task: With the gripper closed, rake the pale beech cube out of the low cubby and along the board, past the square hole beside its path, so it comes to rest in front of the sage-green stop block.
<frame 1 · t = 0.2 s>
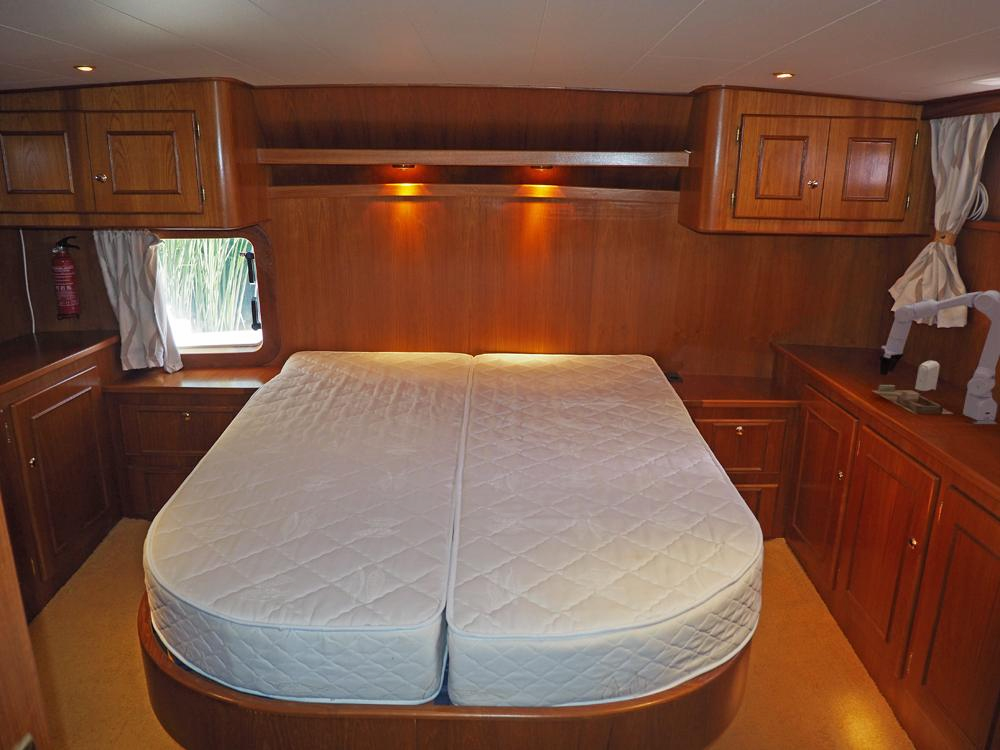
hand: (886, 372, 263), 11 cm above the table, fingers open, 7 cm apart
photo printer: (924, 392, 277), on the table
cube: (908, 402, 258), point 1 cm above the table, touching board
board: (908, 404, 261), on the table
cubby: (915, 410, 254), resting on board
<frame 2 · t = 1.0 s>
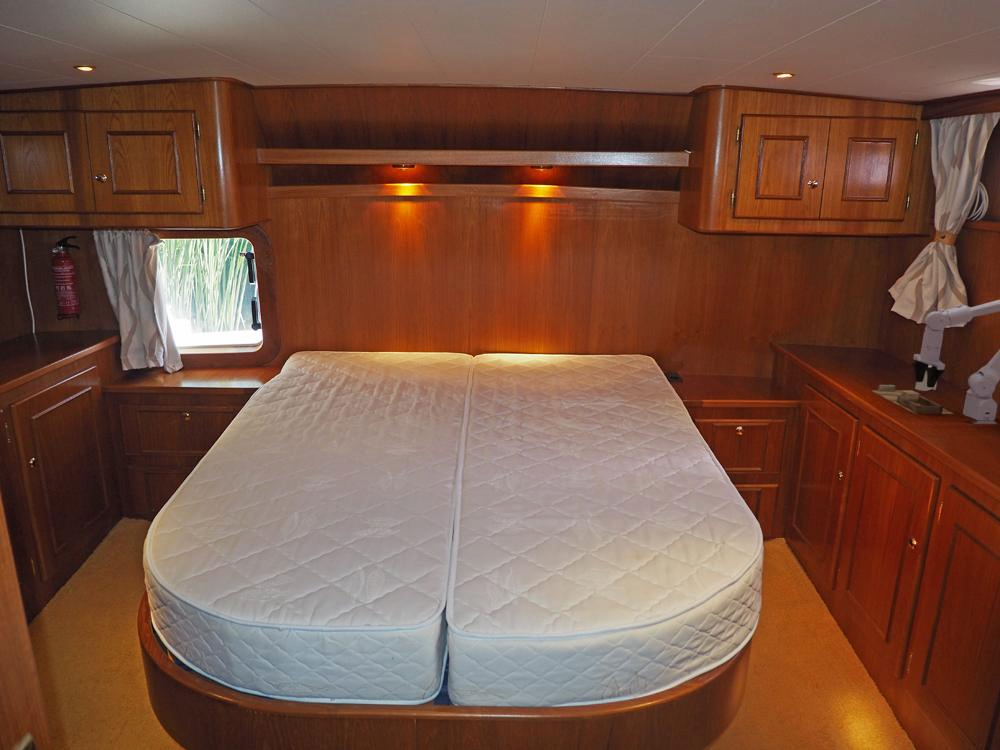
hand: (924, 384, 249), 10 cm above the table, fingers open, 6 cm apart
nothing on the table moved.
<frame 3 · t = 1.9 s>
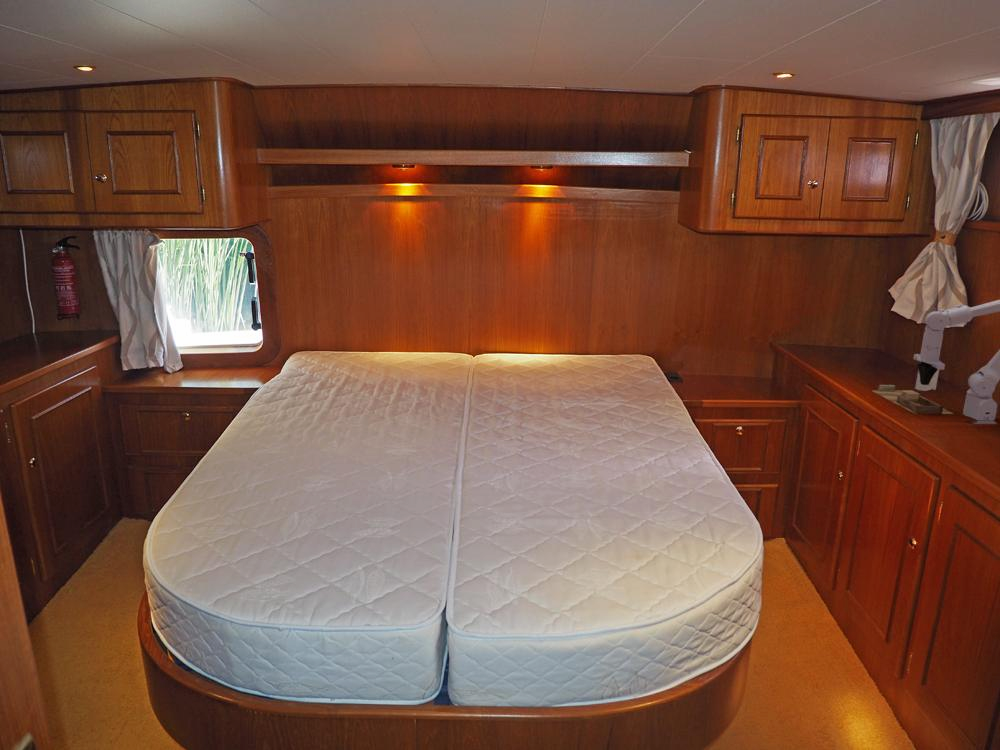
hand: (924, 384, 249), 10 cm above the table, fingers closed
nothing on the table moved.
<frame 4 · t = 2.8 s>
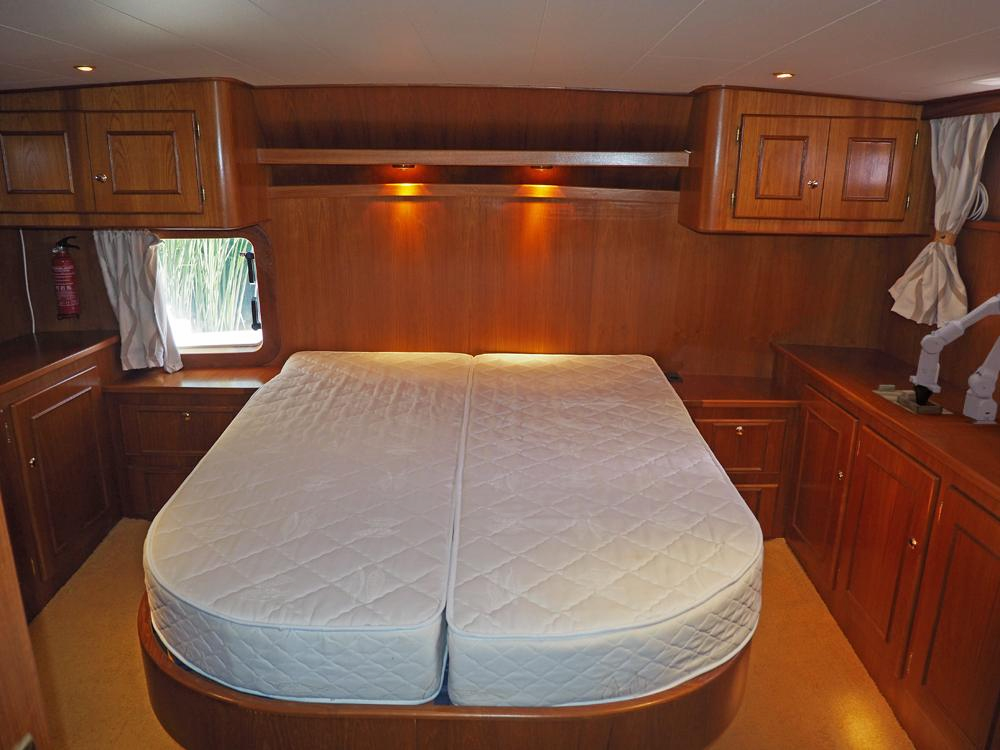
hand: (920, 406, 251), 2 cm above the table, fingers closed
nothing on the table moved.
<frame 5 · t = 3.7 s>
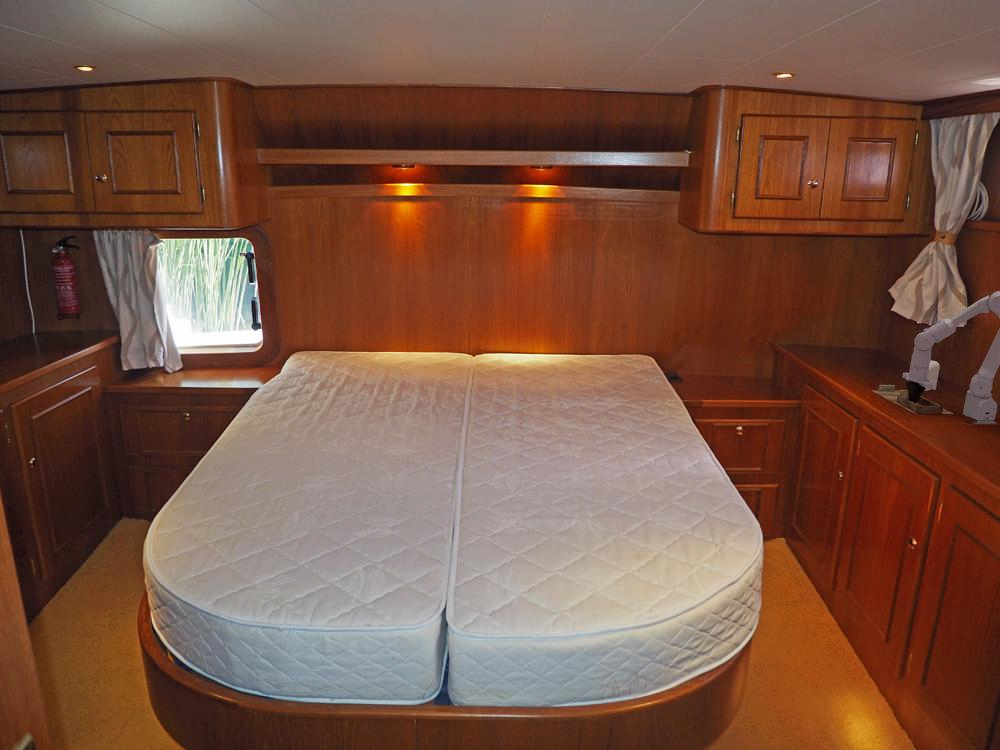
hand: (913, 402, 255), 2 cm above the table, fingers closed
cube: (907, 401, 259), point 2 cm above the table, touching gripper
everything else where it was.
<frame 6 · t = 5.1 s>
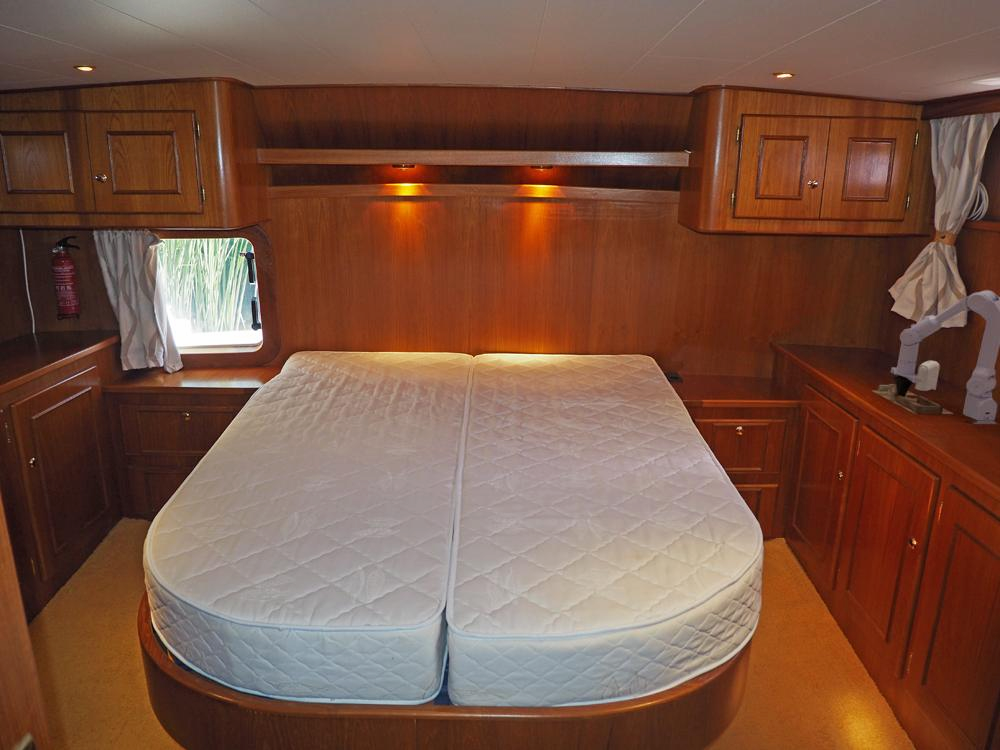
hand: (901, 396, 262), 2 cm above the table, fingers closed
cube: (895, 395, 266), point 1 cm above the table, touching board, gripper
everything else where it was.
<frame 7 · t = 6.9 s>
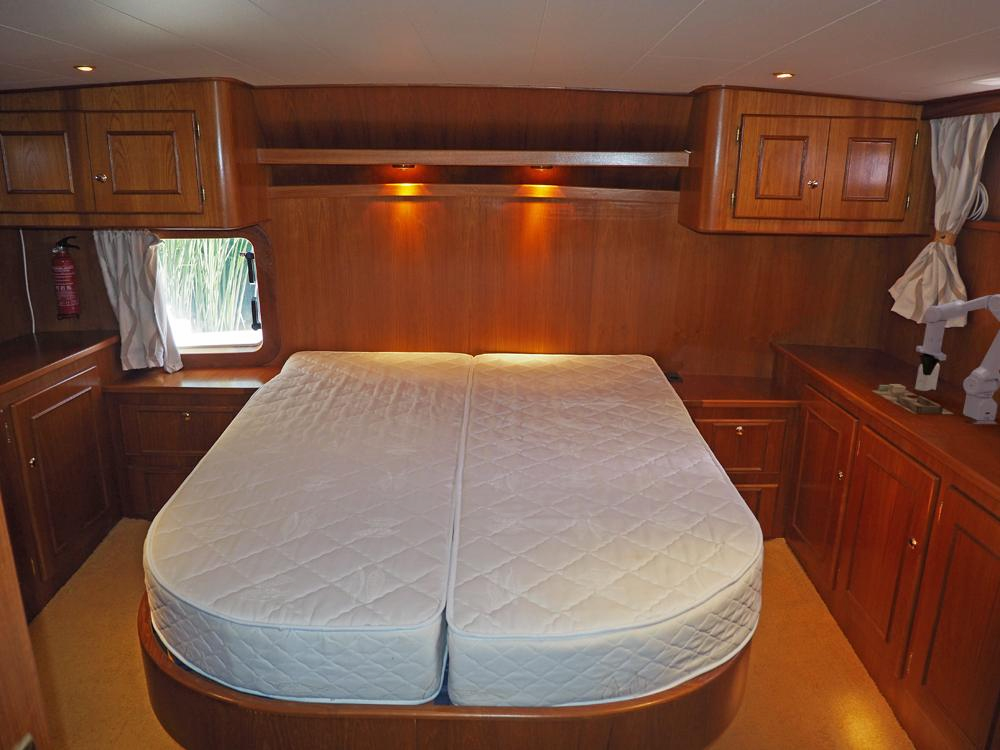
hand: (926, 374, 261), 10 cm above the table, fingers closed
cube: (895, 395, 266), point 1 cm above the table, touching board
everything else where it was.
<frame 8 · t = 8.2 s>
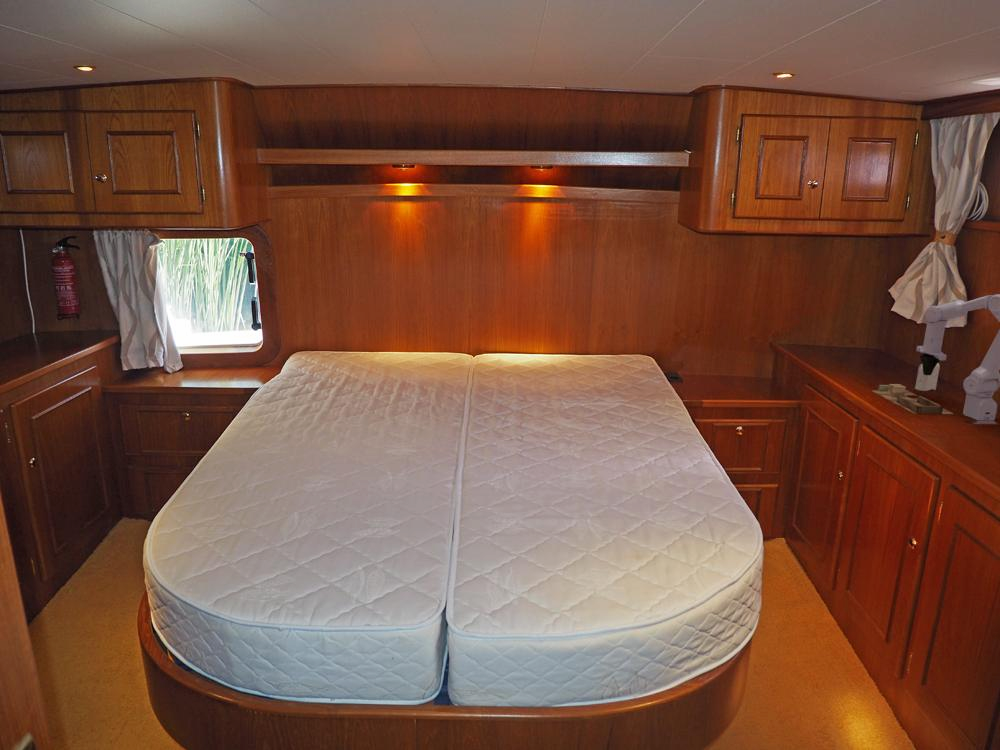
hand: (927, 374, 261), 10 cm above the table, fingers closed
nothing on the table moved.
at the end: cube 1.6 cm from the target spot, point 1.5 cm above the table; cube tilted 0°; cube moved 8.4 cm from its start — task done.
